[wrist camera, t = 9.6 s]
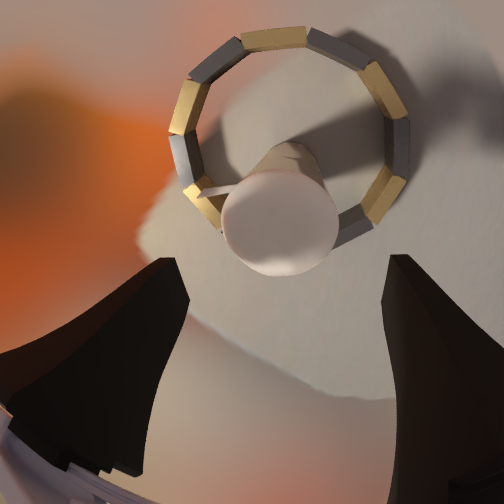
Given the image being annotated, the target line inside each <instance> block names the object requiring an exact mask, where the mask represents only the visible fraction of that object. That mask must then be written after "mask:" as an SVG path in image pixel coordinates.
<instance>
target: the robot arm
mask: <svg viewBox="0 0 504 504" xmlns="http://www.w3.org/2000/svg"><path fill="white" fill-rule="evenodd" d="M189 302H190V299H189V296H188V293H187V291H186V288H185V285H184V283H183V280H182V277H181V274H180V271H179V269H178V266H177V263H176V260H175V257H174V258H159V259H157V260H155V261H154V262H152V263H151V264H149V265H148V266H146V267H145V268H144V269H142V270H141V271H140V272H138V273H137V274H136V275H134V276H133V277H132V278H130V279H129V280H128V281H126V282H125V283H124V284H122V285H121V286H120V287H118V288H117V289H116V290H115V291H113V292H112V293H110V294H109V295H108V296H106V297H105V298H104V299H102V300H101V301H99V302H98V303H97V304H95V305H94V306H93V307H91V308H90V309H88V310H87V311H86V312H84V313H83V314H81V315H80V316H78V317H76V318H75V319H73V320H72V321H70V322H69V323H67V324H65V325H64V326H62V327H60V328H58V329H56V330H54V331H52V332H50V333H49V334H47V335H45V336H43V337H41V338H39V339H37V340H35V341H32V342H30V343H28V344H26V345H23V346H21V347H18V348H16V349H13V350H10V351H7V352H4V353H1V354H0V405H1V406H2V407H3V408H4V409H5V410H6V411H8V412H9V413H10V414H11V415H13V418H12V417H11V416H10V415H9V414H8V413H7V412H5V411H4V410H3V409H2V408H1V407H0V491H1V493H2V495H3V496H4V498H5V500H6V502H7V504H106V502H108V503H110V504H159V503H156V502H154V501H151V500H149V499H146V498H144V497H141V496H139V495H136V494H134V493H132V492H129V491H127V490H125V489H122V488H121V487H119V486H116V485H114V484H112V483H110V482H108V481H106V480H104V479H102V478H101V477H99V476H98V475H99V472H100V470H102V471H104V472H106V473H108V474H110V473H111V471H112V468H114V469H116V470H119V471H121V472H123V473H125V474H127V475H130V476H132V477H138V476H140V475H142V474H143V460H144V450H145V442H146V436H147V430H148V424H149V420H150V415H151V411H152V406H153V402H154V399H155V395H156V391H157V388H158V384H159V381H160V379H161V376H162V373H163V371H164V369H165V366H166V364H167V361H168V359H169V357H170V354H171V352H172V350H173V348H174V345H175V343H176V341H177V338H178V336H179V334H180V331H181V329H182V326H183V324H184V321H185V317H186V314H187V310H188V306H189ZM381 306H382V315H383V324H384V331H385V336H386V340H387V345H388V350H389V355H390V360H391V365H392V371H393V376H394V382H395V390H396V402H397V434H396V451H395V461H394V469H393V476H392V483H391V488H390V493H389V497H388V502H387V504H504V348H503V347H502V346H501V345H499V344H498V343H497V342H496V341H495V340H494V339H492V338H491V337H490V336H489V335H488V334H487V333H486V332H485V331H484V330H483V329H481V328H480V327H479V326H478V325H477V324H476V323H475V322H474V321H473V320H472V319H471V318H470V317H469V316H468V315H467V314H466V313H465V312H464V311H463V310H462V309H461V308H460V307H459V306H458V305H457V304H456V303H455V302H454V301H453V300H452V299H451V298H450V297H449V296H448V295H447V294H446V293H445V292H444V291H443V290H442V289H441V288H440V287H439V286H438V285H437V284H436V283H435V281H434V280H433V279H432V278H431V277H430V276H429V275H428V274H427V273H426V272H425V271H424V270H423V269H422V268H421V267H420V266H419V265H418V264H417V263H416V262H415V261H414V260H413V259H412V258H411V257H410V256H409V255H408V254H399V255H390V260H389V265H388V271H387V276H386V281H385V286H384V291H383V295H382V300H381Z"/></svg>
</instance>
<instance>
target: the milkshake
mask: <svg viewBox="0 0 504 504" xmlns="http://www.w3.org/2000/svg"><path fill="white" fill-rule="evenodd" d="M225 193H229V195H228V197H227V198H226V200H225V202H224V205H223V208H222V213H221V225H222V231H223V234H224V237H225V240H226V242H227V244H228V246H229V248H230V249H231V250H232V251H233V252H234V254H235V255H236V256H237V257H239V258H240V259H241V260H242V261H243V262H244V263H245V264H246V265H247V266H249V267H250V268H252V269H253V270H255V271H257V272H259V273H261V274H264V275H268V276H291V275H298V274H301V273H303V272H305V271H307V270H309V269H311V268H312V267H314V266H316V265H317V264H318V263H320V262H321V261H322V260H323V259H324V258H325V257H326V256H327V255H328V254H329V252H330V251H331V249H332V248H333V246H334V244H335V241H336V238H337V235H338V230H339V217H338V212H337V209H336V207H335V204H334V202H333V201H332V199H331V196H330V194H329V192H328V190H327V188H326V186H325V183H324V181H323V178H322V175H321V173H320V170H319V168H318V165H317V163H316V160H315V158H314V156H313V155H312V154H311V153H310V152H309V151H308V150H307V149H306V148H305V147H304V146H303V145H302V144H297V143H292V142H284V143H282V144H280V145H277V146H275V147H273V148H271V149H270V150H269V151H268V153H267V154H266V155H265V156H264V157H263V158H262V159H261V160H260V161H259V163H258V164H257V165H256V166H255V167H254V168H253V169H252V170H251V171H250V172H249V173H248V174H247V175H246V176H245V177H244V178H243V179H242V180H241V181H240V182H239V183H238V184H233V185H226V186H219V187H212V188H206V189H204V190H203V191H202V192H201V193H200V194H199V195H198V196H197V199H199V198H204V197H209V196H215V195H220V194H225Z"/></svg>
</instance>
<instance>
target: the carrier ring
mask: <svg viewBox="0 0 504 504" xmlns="http://www.w3.org/2000/svg"><path fill="white" fill-rule="evenodd" d="M304 47H306V48H308V49H311V50H313V51H315V52H318V53H320V54H322V55H324V56H326V57H328V58H330V59H333V60H335V61H337V62H339V63H341V64H343V65H345V66H347V67H348V68H350V69H352V70H354V71H356V72H357V74H358V75H359V77H360V78H361V80H362V81H363V83H364V84H365V86H366V87H367V89H368V90H369V92H370V93H371V95H372V96H373V98H374V99H375V101H376V103H377V104H378V106H379V108H380V109H381V111H382V113H383V114H384V122H385V164H384V166H383V168H382V169H381V171H380V173H379V174H378V176H377V178H376V179H375V181H374V183H373V184H372V186H371V187H370V189H369V191H368V192H367V194H366V195H365V197H364V199H363V200H362V202H361V203H360V204H358V205H356V206H355V207H353V208H351V209H349V210H347V211H345V212H344V213H342V214H340V215H338V217H339V230H338V235H337V238H336V241H335V244H334V246H333V248H332V249H331V250H333V249H335V248H337V247H339V246H341V245H343V244H344V243H346V242H348V241H350V240H352V239H354V238H356V237H358V236H360V235H362V234H364V233H366V232H368V231H370V230H372V229H373V225H372V222H373V223H375V224H377V225H378V224H379V222H380V221H381V219H382V218H383V216H384V215H385V214H386V212H387V211H388V209H389V208H390V206H391V205H392V203H393V202H394V200H395V199H396V197H397V196H398V194H399V192H400V191H401V189H402V188H403V186H404V185H405V183H406V182H407V181H406V180H405V179H404V178H403V177H402V176H408V173H409V154H410V120H409V119H407V118H405V117H404V116H406V115H408V112H407V111H406V109H405V107H404V105H403V103H402V102H401V100H400V98H399V96H398V95H397V93H396V91H395V90H394V88H393V86H392V85H391V83H390V81H389V80H388V78H387V77H386V75H385V74H384V72H383V71H382V69H381V67H380V66H379V65H378V63H377V62H376V61H374V62H370V63H368V62H369V60H370V58H371V56H369V55H368V54H366V53H364V52H362V51H360V50H358V49H357V48H355V47H353V46H351V45H349V44H347V43H345V42H343V41H341V40H339V39H337V38H335V37H332V36H330V35H328V34H326V33H323V32H321V31H319V30H316V29H314V28H311V30H310V32H309V34H308V36H307V34H306V28H305V26H301V27H287V28H277V29H268V30H260V31H253V32H247V33H241V40H240V39H238V38H237V37H235V36H234V37H233V38H231V39H230V40H229V41H227V42H226V43H225V44H224V45H222V46H221V47H220V48H218V49H217V50H216V51H215V52H213V53H212V54H211V55H210V56H209V57H207V58H206V59H205V60H204V61H203V62H201V63H200V64H199V65H198V66H197V67H196V68H195V69H194V70H192V71H191V72H190V73H189V74H188V75H189V76H190V77H191V78H192V79H185V80H184V83H183V86H182V89H181V92H180V95H179V98H178V102H177V105H176V108H175V111H174V115H173V118H172V122H171V124H170V128H169V132H172V133H175V134H173V135H171V136H169V141H170V145H171V149H172V154H173V158H174V162H175V166H176V170H177V174H178V178H179V182H180V186H181V187H185V186H188V187H187V188H186V189H185V190H184V191H183V192H184V193H185V194H186V195H187V196H188V198H189V199H190V200H191V201H192V202H193V203H194V204H195V205H196V207H197V208H198V209H199V210H200V211H201V212H202V213H203V215H204V216H205V217H206V218H207V219H208V220H209V221H210V222H211V224H212V225H213V226H214V227H215V228H216V229H219V228H220V227H222V225H221V213H222V208H223V205H224V202H225V200H226V198H225V197H224V195H223V194H220V195H215V196H209V197H204V198H199V199H197V196H198V195H199V194H200V193H201V192H202V191H203V190H204V189H206V188H212V187H216V186H215V185H214V184H213V182H212V181H211V180H210V179H209V178H208V177H207V175H206V174H205V172H204V168H203V163H202V158H201V154H200V149H199V144H198V139H197V134H196V130H195V128H196V125H197V122H198V119H199V116H200V113H201V111H202V108H203V105H204V102H205V99H206V97H207V94H208V91H209V88H210V86H211V84H212V83H213V82H214V81H215V80H217V79H218V78H219V77H220V76H222V75H223V74H224V73H225V72H227V71H228V70H229V69H230V68H232V67H233V66H234V65H236V64H237V63H238V62H240V61H241V60H242V59H244V58H245V57H246V56H248V55H249V54H250V53H254V52H261V51H269V50H278V49H289V48H304ZM221 233H223V231H222V232H221Z"/></svg>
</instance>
